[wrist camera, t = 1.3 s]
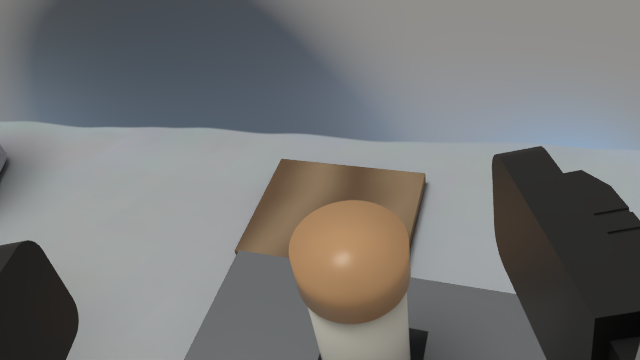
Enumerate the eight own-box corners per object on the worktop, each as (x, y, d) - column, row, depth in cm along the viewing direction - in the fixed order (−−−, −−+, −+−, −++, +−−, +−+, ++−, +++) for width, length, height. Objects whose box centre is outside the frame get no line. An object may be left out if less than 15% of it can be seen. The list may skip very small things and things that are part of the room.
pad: (237, 259, 41) (234, 251, 40) (283, 167, 47) (281, 158, 47) (400, 286, 37) (400, 277, 36) (425, 182, 44) (425, 173, 43)
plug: (321, 432, 31) (271, 282, 21) (344, 354, 34) (309, 194, 24) (407, 455, 29) (395, 304, 20) (422, 371, 32) (418, 207, 23)
